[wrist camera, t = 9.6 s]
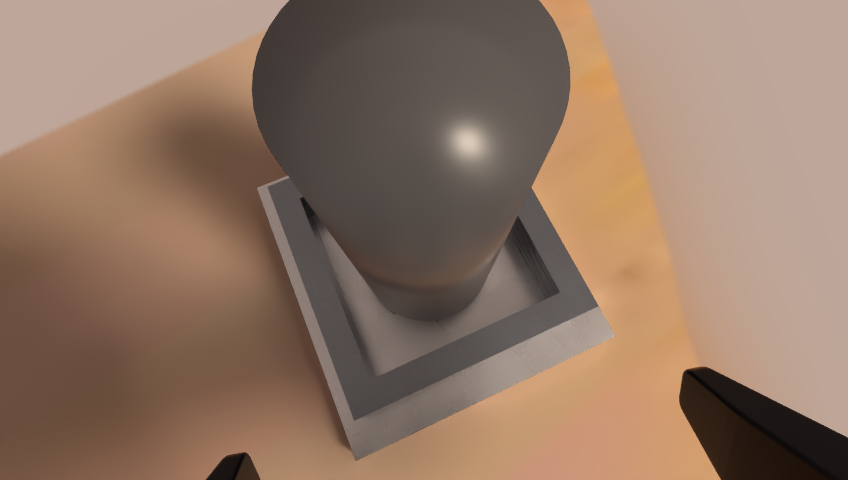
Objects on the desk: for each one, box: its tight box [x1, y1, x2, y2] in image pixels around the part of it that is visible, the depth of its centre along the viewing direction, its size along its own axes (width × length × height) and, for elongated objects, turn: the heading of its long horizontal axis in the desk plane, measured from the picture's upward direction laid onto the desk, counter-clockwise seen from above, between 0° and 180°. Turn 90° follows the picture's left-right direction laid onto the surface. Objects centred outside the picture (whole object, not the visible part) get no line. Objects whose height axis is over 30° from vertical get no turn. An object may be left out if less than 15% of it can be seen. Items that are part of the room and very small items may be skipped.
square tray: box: [257, 176, 615, 461], centre depth 18 cm, size 12×11×3 cm
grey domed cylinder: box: [252, 0, 570, 321], centre depth 13 cm, size 5×5×12 cm
